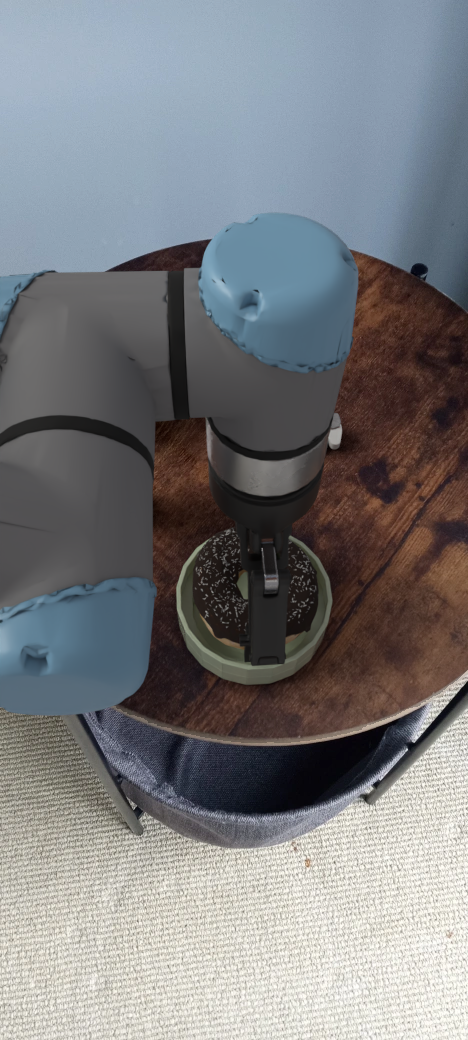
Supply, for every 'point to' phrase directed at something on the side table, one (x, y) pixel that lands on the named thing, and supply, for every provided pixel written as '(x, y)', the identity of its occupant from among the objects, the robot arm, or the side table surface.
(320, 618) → the bowl
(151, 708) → the side table surface
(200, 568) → the donut
